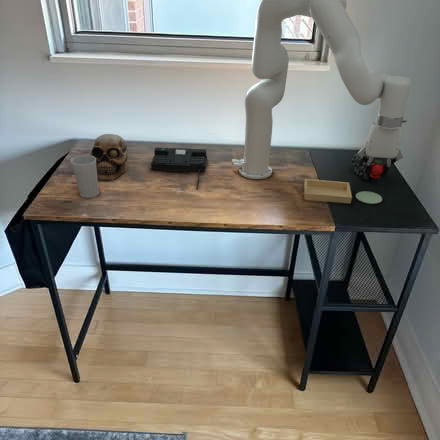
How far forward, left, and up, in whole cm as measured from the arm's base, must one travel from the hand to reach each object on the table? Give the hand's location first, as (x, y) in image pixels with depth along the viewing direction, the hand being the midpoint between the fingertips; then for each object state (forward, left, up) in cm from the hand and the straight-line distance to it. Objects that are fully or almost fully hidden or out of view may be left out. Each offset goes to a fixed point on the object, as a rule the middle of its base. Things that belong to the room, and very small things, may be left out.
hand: (374, 175), depth 149 cm
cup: (-96, -14, -9) cm, 97 cm away
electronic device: (-70, +10, -9) cm, 71 cm away
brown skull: (-95, +6, -9) cm, 95 cm away
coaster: (0, 0, -9) cm, 9 cm away
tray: (-15, 0, -9) cm, 17 cm away
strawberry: (0, 0, 0) cm, 0 cm away
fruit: (-1, +19, -9) cm, 21 cm away
